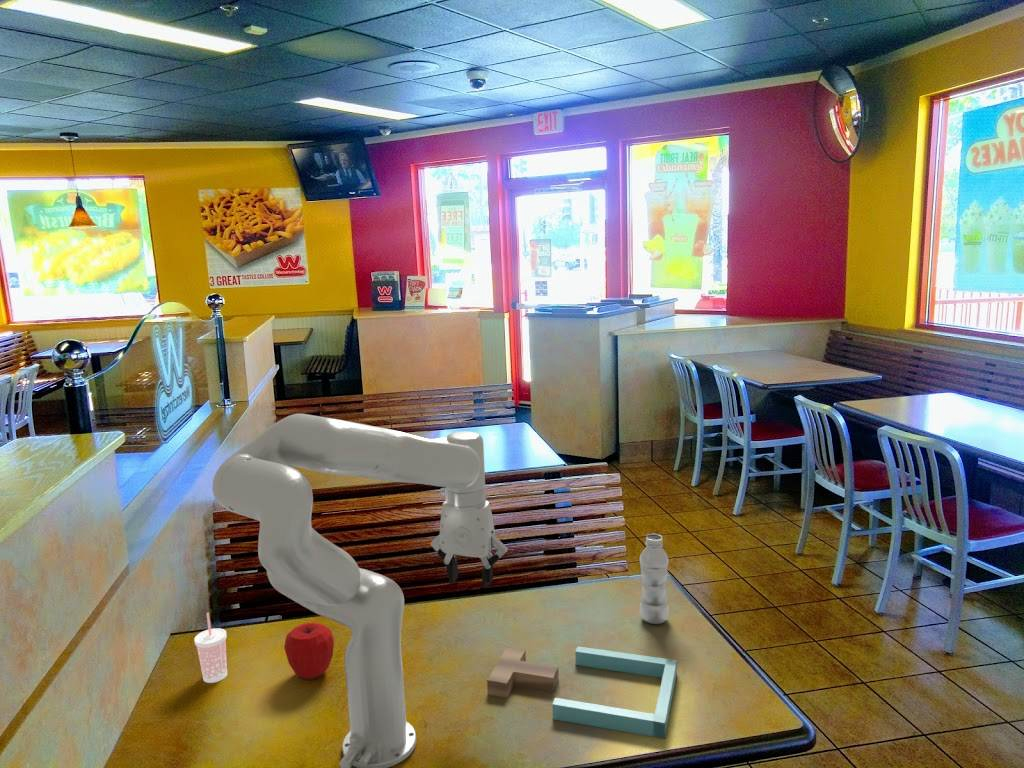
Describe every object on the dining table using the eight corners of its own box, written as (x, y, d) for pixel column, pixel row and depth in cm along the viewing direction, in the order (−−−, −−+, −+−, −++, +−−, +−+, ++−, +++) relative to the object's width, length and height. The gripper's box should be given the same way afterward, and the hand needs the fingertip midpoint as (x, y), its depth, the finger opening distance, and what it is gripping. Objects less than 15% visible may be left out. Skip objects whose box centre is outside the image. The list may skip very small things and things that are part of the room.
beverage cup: (218, 664, 154) (210, 603, 152) (237, 672, 151) (230, 609, 148) (192, 679, 149) (184, 616, 146) (212, 688, 146) (204, 623, 143)
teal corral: (664, 738, 127) (664, 723, 126) (552, 719, 133) (552, 704, 132) (676, 674, 145) (676, 660, 145) (577, 659, 152) (577, 646, 151)
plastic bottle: (647, 630, 162) (647, 544, 158) (634, 615, 169) (634, 533, 165) (674, 625, 164) (674, 540, 160) (660, 611, 170) (660, 529, 167)
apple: (346, 671, 150) (342, 622, 148) (306, 693, 143) (302, 642, 141) (317, 655, 157) (312, 608, 154) (277, 676, 149) (272, 627, 147)
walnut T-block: (548, 704, 137) (547, 689, 137) (487, 694, 141) (487, 680, 141) (563, 669, 149) (563, 655, 148) (507, 660, 152) (506, 647, 152)
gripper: (416, 499, 140) (422, 586, 144) (502, 506, 135) (505, 596, 138) (432, 486, 147) (437, 570, 151) (514, 492, 142) (517, 579, 145)
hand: (470, 582), depth 145 cm, fingers open, 6 cm apart
